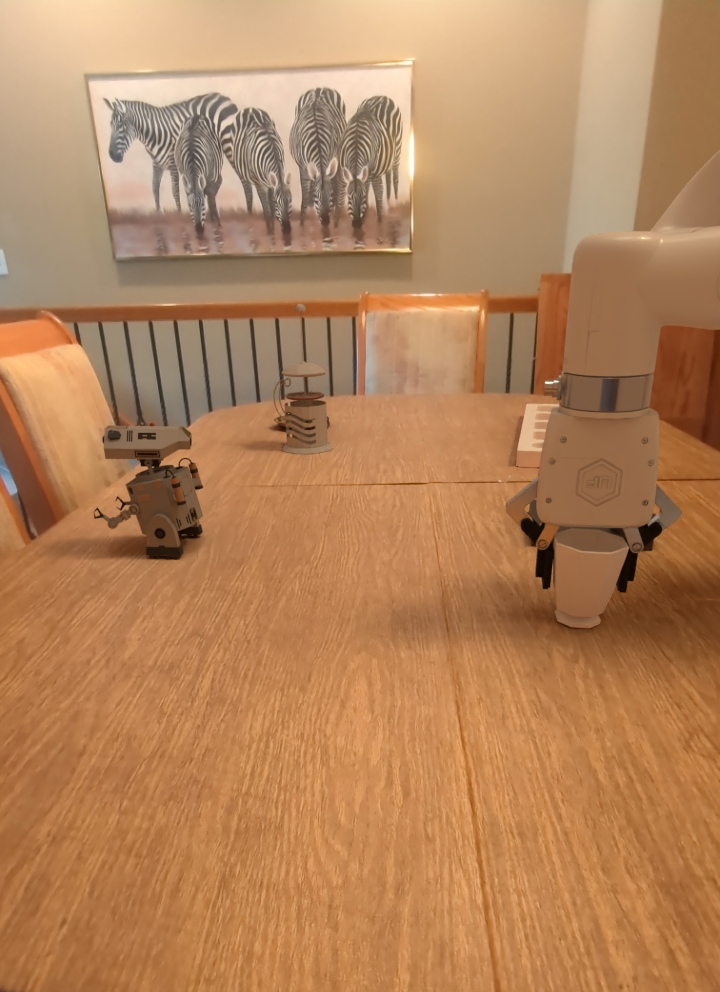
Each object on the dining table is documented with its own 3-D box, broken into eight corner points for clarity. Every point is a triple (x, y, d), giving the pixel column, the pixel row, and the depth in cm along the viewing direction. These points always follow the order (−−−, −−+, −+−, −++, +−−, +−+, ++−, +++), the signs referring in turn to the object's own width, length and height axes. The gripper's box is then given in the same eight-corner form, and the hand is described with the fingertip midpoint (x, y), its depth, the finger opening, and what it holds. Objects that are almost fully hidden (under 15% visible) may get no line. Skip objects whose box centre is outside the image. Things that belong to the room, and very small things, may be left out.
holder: (525, 416, 166) (526, 403, 165) (611, 418, 162) (612, 405, 161) (515, 466, 127) (517, 450, 126) (628, 470, 123) (630, 454, 122)
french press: (314, 456, 137) (306, 305, 126) (263, 449, 142) (252, 305, 131) (343, 445, 144) (339, 302, 133) (294, 439, 150) (286, 301, 139)
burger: (272, 423, 165) (269, 387, 162) (325, 420, 167) (324, 385, 164) (276, 434, 155) (274, 396, 151) (333, 430, 156) (332, 393, 153)
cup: (531, 624, 72) (542, 544, 68) (559, 588, 80) (570, 514, 76) (605, 641, 69) (621, 559, 65) (627, 602, 77) (642, 527, 73)
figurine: (130, 533, 100) (110, 417, 93) (214, 535, 98) (201, 417, 92) (101, 558, 92) (77, 433, 85) (192, 560, 90) (175, 433, 84)
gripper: (502, 401, 63) (491, 597, 71) (722, 401, 60) (684, 605, 69) (503, 387, 70) (492, 568, 78) (701, 387, 67) (669, 575, 75)
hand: (582, 584), depth 73 cm, fingers closed on cup, 6 cm apart
